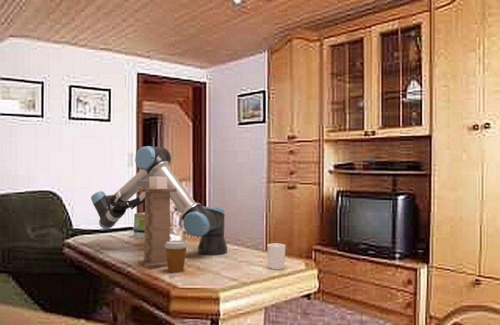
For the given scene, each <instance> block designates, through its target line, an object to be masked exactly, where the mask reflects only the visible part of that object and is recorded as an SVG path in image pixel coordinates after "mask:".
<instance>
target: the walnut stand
mask: <svg viewBox="0 0 500 325" xmlns="http://www.w3.org/2000/svg"><path fill="white" fill-rule="evenodd" d="M138 192H141V193H142V192H145V202H144V212H145V239H144V247H143V248H144V249H143V250H144V254H143V256H144V258H143V259H142V260H138V261H137V265H139V266H141V265H142V267H144V266H145V267H144V268H147V267H148V268H147V269H149V268H150V270H154V268H155V269H160V268H161V267H162V268H166V267H167V268H168V264H167V256H166V248H165V244H166V242H167V241H171V240H170V236H171V235H170V234H171V233H170V232H171V231H170V230H171V229H170V228H171V227H170V226H171V225H170V224H171V219H170V218H171V216H170V215H171V199H170V192H176V188H167V189H154V188H145V187H142V188H139V191H138Z"/></svg>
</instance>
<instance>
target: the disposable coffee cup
mask: <svg viewBox="0 0 500 325" xmlns="http://www.w3.org/2000/svg"><path fill="white" fill-rule="evenodd" d="M165 248H166V256H167V264H168V267H167V271H168V272H170V273H181V272H184V268H185V259H186V252H187V248H188V242H187V241H186V240H170V241H167V242H166V244H165Z"/></svg>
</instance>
